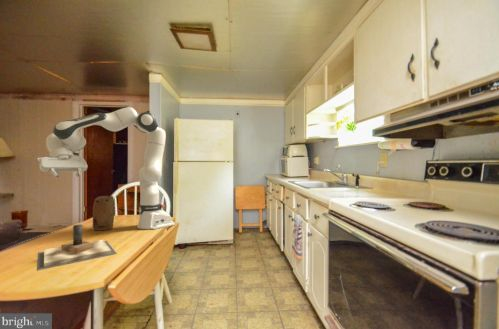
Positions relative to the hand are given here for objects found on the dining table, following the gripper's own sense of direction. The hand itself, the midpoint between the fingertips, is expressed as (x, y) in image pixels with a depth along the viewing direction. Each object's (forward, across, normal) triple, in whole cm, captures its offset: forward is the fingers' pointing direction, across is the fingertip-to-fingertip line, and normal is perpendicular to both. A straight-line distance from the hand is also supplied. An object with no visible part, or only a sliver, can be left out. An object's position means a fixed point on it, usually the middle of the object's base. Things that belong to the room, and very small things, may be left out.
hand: (68, 175), depth 123 cm
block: (+18, +21, +29) cm, 40 cm away
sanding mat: (+42, -5, +5) cm, 43 cm away
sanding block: (+41, -5, +3) cm, 41 cm away
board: (+42, -5, +4) cm, 42 cm away
